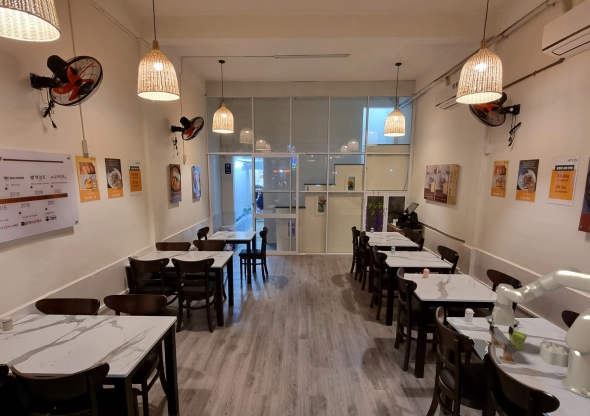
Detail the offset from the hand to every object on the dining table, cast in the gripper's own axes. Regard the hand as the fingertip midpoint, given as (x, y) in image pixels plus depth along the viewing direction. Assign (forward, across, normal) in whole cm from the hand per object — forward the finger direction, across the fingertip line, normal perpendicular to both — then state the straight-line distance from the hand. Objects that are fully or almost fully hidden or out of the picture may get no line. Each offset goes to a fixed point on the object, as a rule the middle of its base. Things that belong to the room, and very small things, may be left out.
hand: (500, 332), depth 165 cm
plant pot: (+12, +13, +8) cm, 19 cm away
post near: (+12, +1, -9) cm, 15 cm away
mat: (+12, -8, -1) cm, 15 cm away
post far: (+12, +1, +7) cm, 14 cm away
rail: (+5, 0, 0) cm, 5 cm away
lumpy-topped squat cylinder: (+12, +27, 0) cm, 29 cm away
